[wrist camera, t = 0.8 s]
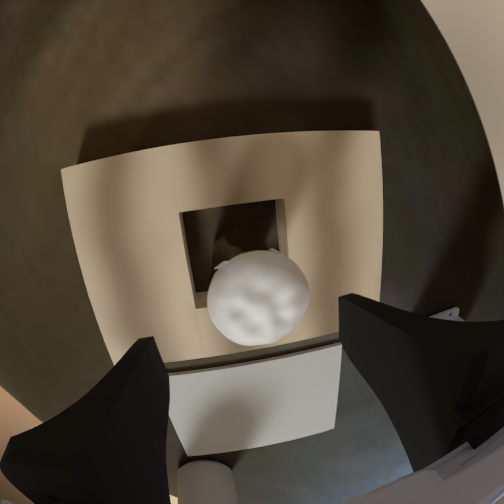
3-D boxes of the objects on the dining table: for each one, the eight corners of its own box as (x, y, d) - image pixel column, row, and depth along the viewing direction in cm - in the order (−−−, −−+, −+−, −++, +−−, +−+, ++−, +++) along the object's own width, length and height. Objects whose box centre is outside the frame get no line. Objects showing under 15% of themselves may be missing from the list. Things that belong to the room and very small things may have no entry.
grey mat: (340, 341, 25) (342, 344, 24) (332, 426, 29) (333, 428, 28) (154, 374, 23) (153, 377, 22) (187, 453, 27) (187, 456, 26)
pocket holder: (361, 132, 20) (379, 131, 17) (362, 307, 24) (377, 321, 22) (76, 167, 17) (60, 169, 15) (121, 347, 22) (114, 366, 19)
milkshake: (237, 192, 20) (272, 224, 10) (282, 253, 22) (342, 325, 12) (182, 234, 20) (169, 301, 11) (230, 291, 22) (254, 385, 12)
